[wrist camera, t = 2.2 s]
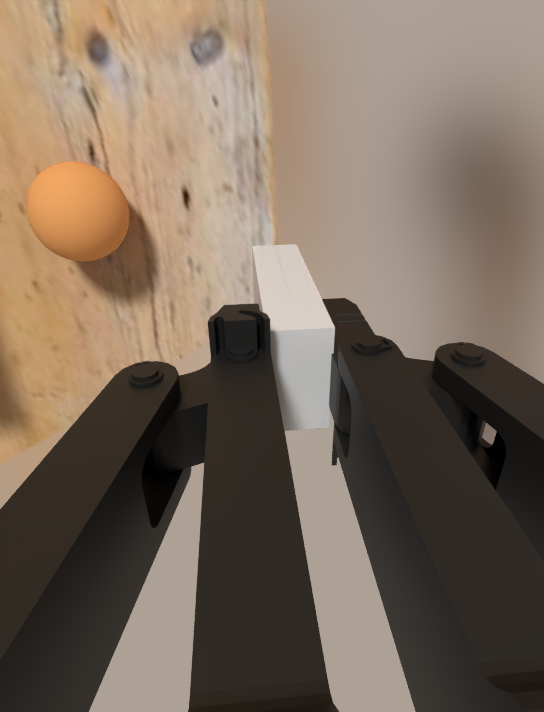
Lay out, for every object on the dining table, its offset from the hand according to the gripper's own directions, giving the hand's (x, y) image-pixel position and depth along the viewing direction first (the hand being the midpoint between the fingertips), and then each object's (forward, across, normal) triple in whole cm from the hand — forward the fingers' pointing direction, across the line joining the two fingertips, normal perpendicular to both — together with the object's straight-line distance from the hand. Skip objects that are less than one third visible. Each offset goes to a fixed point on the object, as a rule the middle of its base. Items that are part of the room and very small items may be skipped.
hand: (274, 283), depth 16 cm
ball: (+13, -10, 0) cm, 16 cm away
